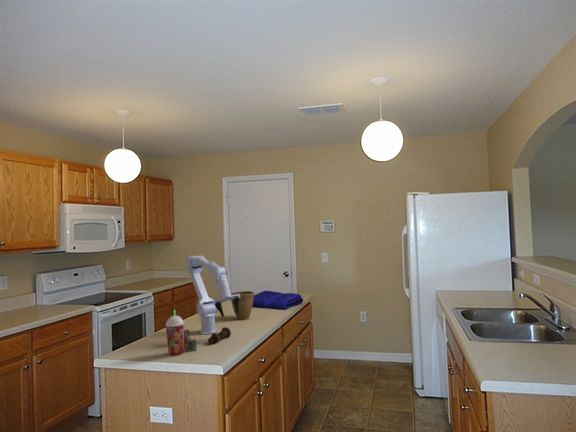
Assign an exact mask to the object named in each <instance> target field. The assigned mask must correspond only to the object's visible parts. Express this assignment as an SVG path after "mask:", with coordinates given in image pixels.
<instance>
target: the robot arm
mask: <svg viewBox="0 0 576 432" xmlns="http://www.w3.org/2000/svg"><path fill="white" fill-rule="evenodd" d="M184 261H185V262H184V264H185V265H184V266H185V268H186V270H187V273H188V274H189V275H190V278H191V281H192V284H193V285H194V290H195V292H196V295H197V298H198V300H199V301H198V302H197V304H196V309H197V310H196V311H197V314H198V316H199V317H200V330H199V332H200V333H201V335H203V336H204V335H212V334H218V332H217V330H216V321H215V320H216V318H215V317H216V315H217V313H218V312H219V313H220V316H221V318H224V317H225V314H224V311H223V307H222V303H224V302H228V301H231V300H233V299H234V300H233V303H234V306H235V310H236V313H239V312H238V304H239V298H240V294H236V295H231V293H232V292H231V290H230V285H229V282H228V278H227V277H228V270H227V268H226V267H225V266H220V265H219V264H217V263H216V262H215V261H208V260H207V259H206V257H205V256H204V255H202V254H201V255H191V256H189V255H188V256H186V257H185V260H184ZM204 269H205V270H206V272H208V273H209V274H211V276H212V278H213V280H214V282H215V283H216V287H217V291H218V296H219V298H217V299H214V298H211V297H209V294H208V291H207V289H206V287H205V284H204V282H203V278H202V276H201V272H202V271H203V270H204Z"/></svg>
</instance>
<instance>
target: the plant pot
mask: <svg viewBox="0 0 576 432" xmlns="http://www.w3.org/2000/svg"><path fill="white" fill-rule="evenodd" d="M230 293H231V295H236V294H240V298H239V304H238V312H239V313H236V310H235V306H234V303H233V300H234V299H233V300H230V302H231V306H232V309H233V311H234V314H235V317H236V319H237V321H239V320H240V321H244V320H249V319H250V316H251V314H252V308H253V307H252V304H253V297H254V295H255V293H254V291H251V290H250V291H249V290H246V291H245V290H244V291H243V290H242V291H235V292H230Z"/></svg>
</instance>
